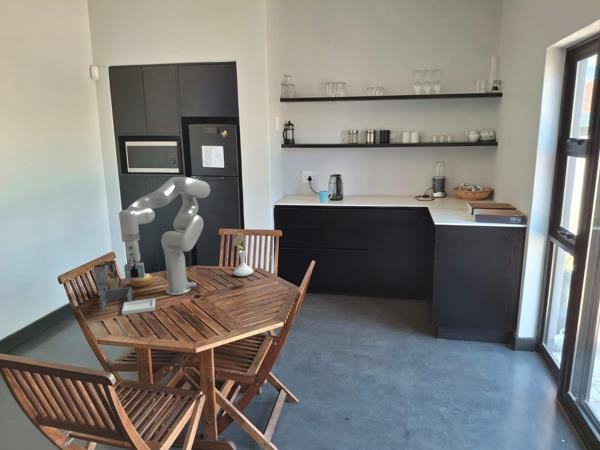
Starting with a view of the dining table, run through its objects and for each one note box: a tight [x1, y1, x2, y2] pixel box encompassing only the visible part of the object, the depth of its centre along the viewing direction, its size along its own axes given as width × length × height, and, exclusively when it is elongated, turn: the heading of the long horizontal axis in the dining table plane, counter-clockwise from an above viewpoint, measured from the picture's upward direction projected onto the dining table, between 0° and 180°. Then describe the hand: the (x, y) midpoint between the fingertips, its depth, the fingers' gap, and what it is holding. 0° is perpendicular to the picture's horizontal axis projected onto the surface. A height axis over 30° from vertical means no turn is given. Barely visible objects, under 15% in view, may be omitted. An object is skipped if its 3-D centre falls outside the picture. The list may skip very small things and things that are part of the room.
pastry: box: [129, 269, 154, 289], centre depth 243 cm, size 12×12×9 cm
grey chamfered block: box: [123, 261, 146, 281], centre depth 206 cm, size 8×5×6 cm, turn 106°
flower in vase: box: [232, 232, 254, 277], centre depth 250 cm, size 13×11×25 cm
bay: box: [98, 286, 134, 310], centre depth 218 cm, size 13×14×5 cm
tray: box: [121, 297, 156, 317], centre depth 209 cm, size 14×12×2 cm
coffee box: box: [93, 260, 120, 297], centre depth 232 cm, size 9×6×16 cm
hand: (135, 275), depth 206 cm, fingers closed on grey chamfered block, 5 cm apart
